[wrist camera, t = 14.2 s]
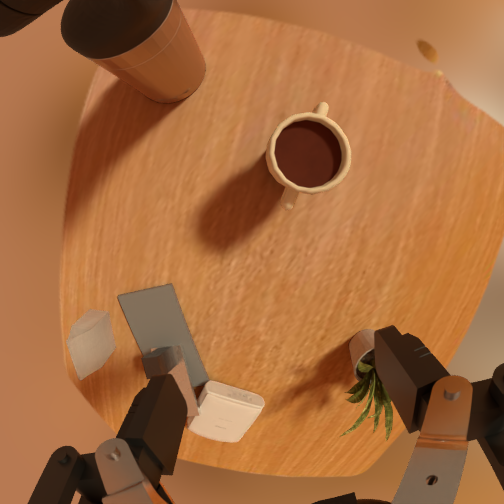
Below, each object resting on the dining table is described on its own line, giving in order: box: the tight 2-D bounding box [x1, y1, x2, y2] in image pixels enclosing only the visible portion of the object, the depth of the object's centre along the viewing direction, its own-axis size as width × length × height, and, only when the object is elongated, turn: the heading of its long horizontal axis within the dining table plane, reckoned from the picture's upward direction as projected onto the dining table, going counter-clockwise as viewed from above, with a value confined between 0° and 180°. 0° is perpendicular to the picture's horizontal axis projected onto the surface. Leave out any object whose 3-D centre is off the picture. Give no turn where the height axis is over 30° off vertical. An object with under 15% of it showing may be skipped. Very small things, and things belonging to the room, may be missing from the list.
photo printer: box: [187, 380, 265, 442], centre depth 43 cm, size 10×4×12 cm
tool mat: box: [117, 283, 209, 387], centre depth 42 cm, size 18×9×1 cm, turn 14°
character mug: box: [265, 102, 351, 210], centre depth 29 cm, size 11×7×13 cm, turn 161°
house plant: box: [339, 329, 393, 441], centre depth 34 cm, size 14×14×16 cm
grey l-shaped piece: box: [141, 344, 201, 416], centre depth 38 cm, size 12×5×7 cm, turn 13°
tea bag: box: [66, 309, 116, 380], centre depth 37 cm, size 4×7×10 cm, turn 179°
